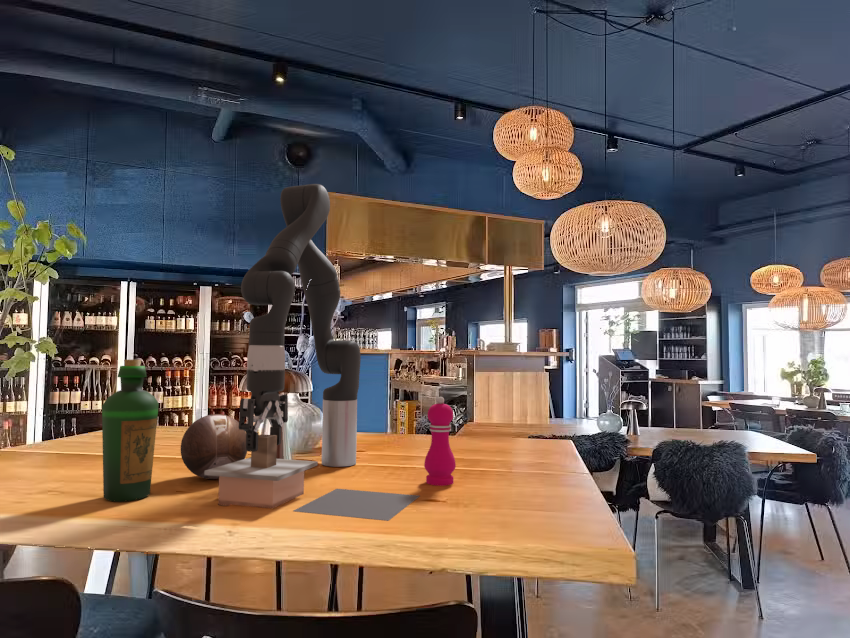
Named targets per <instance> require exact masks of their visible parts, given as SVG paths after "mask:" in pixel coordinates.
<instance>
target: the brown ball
mask: <svg viewBox="0 0 850 638" xmlns="http://www.w3.org/2000/svg"><path fill="white" fill-rule="evenodd" d="M247 454H248V451H247V450H246V432H245V431H244V430H240V429H239V420H236V419H235V418H233V417H231V416H228V415H226V414H220V413H215V414H214V413H213V414H208V415H205V416H202V417H200V418H198V419H196V420H195V421H194V422H192V423H191V424H190V425H189V426H188V428H186V430H185V432H184V434H183V436H182V439H181V441H180V456H181V459H182V462H183V464H184V466H185V467H186V468H187V469H188V471H190V473H192V474H193V475H195V476H196V477H199V478H201V479H206V480H219V476H211V475H204V471H205V470H209V469H212V468H216V467H219V466H222V465H226V464H229V463H233V462H236V461H240V460H243V459H246V456H247Z"/></svg>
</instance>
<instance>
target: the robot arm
mask: <svg viewBox="0 0 850 638" xmlns="http://www.w3.org/2000/svg"><path fill="white" fill-rule="evenodd" d="M329 195H330V194H329V193H328V191H327V189H326V188H325V187H324V185H322V184H319V183H311V184H303V185H302V184H301V185H293V186H287V187H284V188H283V189H282V190H281V192H280V208H281V213H282V215H283V219H284V222H285V225H286V227H285V228H283V229H281V231H280V232H278V233H277V235H276V236H275V237H274V238H273V240H271V243H270V244H269V246H268V248H267V251H266V253H265V255H264V256H263V257H261V258H260V259H259V260H258V261H257V262H256V263H254V265H252V266H251V267H250V268H249V269H248V271H246V273H245V274H244V277H243V278H242V281H241V287H240V292H241V295H242V296H241V297H243V299H244V301H246V303H248V304H249V305H254V306H271V307H270V309H269V311H268V312H267V313H266V314H264V315H260V316H255V317H253V318H251V320H250V321H249V330H248V331H249V332H248V333H249V334H248V349H247V350H248V351H247V357H246V387H245V388H246V391H248V392H249V393H251V394H250V398H240V400H239V415H238V416H239V418H238V422H239V429H240V430H244V431H245V432H246V450H247V452H250V453H251V452H255V451H257V450H258V435H259V432H258V431H259V428H260V426H261V424H262V423H264V422H265V420H267V421H268V422H269V425H270V428H269V435H277V446H280V445H281V443H282V427H283V426H284V424H285V423H288V421H289V410H288V409H289V401H288V400H289V396H288V394H284V393H283V394H282V393H281V394H280V393H279V392H283V391H284V390H285V380H286V375H285V374H286V353H285V351H286V350H285V338H286V337H285V332H286V331H285V330H286V329H285V328H286V324H287V320H288V316H289V312H290V308H291V305H292V301H293V299H294V295H295V288H296V286H295V281H294V279H293V277H292V275H293V274H294V273H295V271H296V269H297V266H298V271H299V276H300V281H301V286H302V289H303V294H304V297H305V301H306V305H307V308H308V312H309V317H310V322H311V329H312V333H313V339H314V340H313V341H314V348H315V355H316V361H317V364H318V367H319V369H320V370H321V372H322V373H324V374H326V375H340V378H339V381H338V382H337V383H336V384H334V385H332V386H329V387H326V388H324V389H323V390H322V391H323V392H322V422H321V423H322V424H321V425H322V427H321V428H322V431H321V465H323V466H326V467H331V468H334V467H336V468H337V467H339V468H340V467H350V466H354V465H356V464H357V438H358V437H357V435H358V432H357V431H358V430H357V429H358V426H357V425H358V422H357V421H358V393H359V387H360V375H361V374H360V373H361V372H360V371H361V359H362V358H361V356H362V355H361V349H360V346H359V344H358V343H357V342H356V341H355V340H343V339H342V340H339V339H338V340H337V339H335V340H334V338H333V334H332V327H331V326H332V320H333V317H334V315H335V312H336V311H337V308H338V305H339V303H340V299H341V287H340V282H339V278H338V274H337V269H336V268H335V266H334V265H333V263H332V262H331V261H330V260H329V258H327V256H326V255H325V254H324V253H323V252H322V251H321V250H320V249H319V248H318V247H317V246H316V244H315V243H314V242H313V240H312V239H313V237H314V236H315V235H316V234H317V232H318V231H319V229H320V228H322V225H323V224H324V223H325V221H327V218H328V217H329V214H330V209H331V201H330V196H329ZM310 279H312V280H311V281H310V284H309V286H308V288H307V285H308V283H309V280H310ZM306 289H307V290H306ZM245 419H246V422H245Z"/></svg>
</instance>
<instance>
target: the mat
mask: <svg viewBox="0 0 850 638" xmlns="http://www.w3.org/2000/svg"><path fill="white" fill-rule="evenodd" d="M420 497H421V495H418V494H406V493H405V494H404V493H403V494H402V493H396V492H395V493H394V492H381V491H380V492H379V491H369V490H368V491H367V490H358V489H357V490H356V489H347V488H346V489H345V488H335V489H333V490H332V491H329V492H327V493H325V494H323V495H321V496H319V497H318V498H316V499H314V500H312V501H309V502H308V503H305V504H304V505H302V506H300V507H299V506H298V507H297V508H295V509H294V510H293V512H297V513H307V514H316V515H324V516H325V515H326V516H327V515H328V516H337V517H344V518H345V517H347V518H356V519H366V520H367V519H368V520H375V521H376V520H377V521H386V522H388V521H391V519H393V518H394V517H395V516H397V515H398V514H399V513H401V512H402V511H403V510H405V509H406V508H407V507H408V506H409V505H411V504H412V503H413V502H414V501H416V500H417V499H418V498H420Z"/></svg>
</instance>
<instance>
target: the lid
mask: <svg viewBox="0 0 850 638" xmlns="http://www.w3.org/2000/svg"><path fill="white" fill-rule="evenodd" d="M277 449H278V445H277V435H270V434H264V433H263V434H258V450H257V451H255V452H250V457H247V458H246V457H245V459H243V460H240V461H236V462H233V463H229V464H226V465H222V466H219V467H216V468H212V469H209V470H205V471H204V475H211V476H223V477H235V478H248V479H260V480H272V481H279V480H281V479H284V478H287V477H289V476H292V475H294V474H297V473H299V472H302V471H304V472H305V471H307V470H310V469H312V468H314V467H317V466H318V463H319V462H318V461H316V460H300V459H288V458H287V459H285V458H277V454H278V453H277V451H278V450H277Z"/></svg>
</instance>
